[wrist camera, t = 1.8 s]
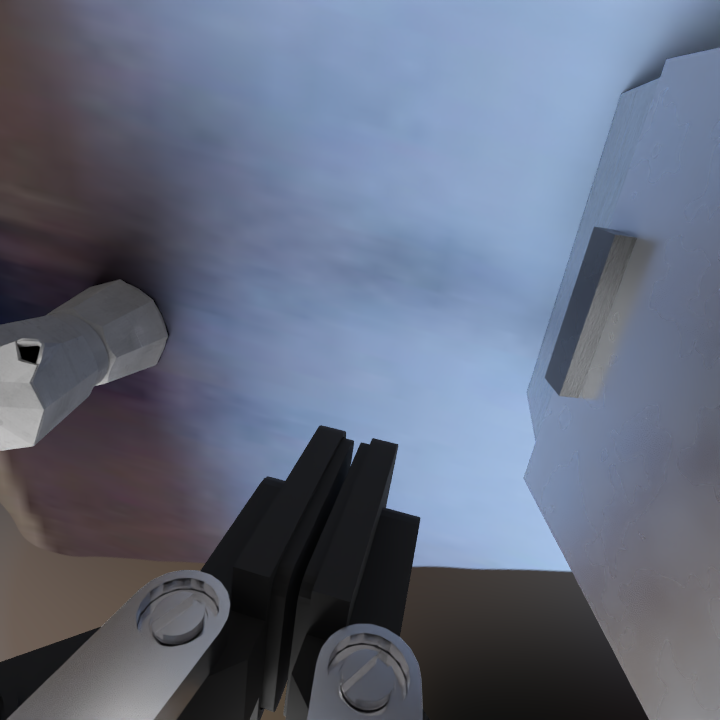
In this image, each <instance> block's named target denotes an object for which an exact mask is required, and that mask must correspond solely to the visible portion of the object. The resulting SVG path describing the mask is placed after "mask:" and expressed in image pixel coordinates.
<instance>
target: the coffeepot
mask: <svg viewBox="0 0 720 720" xmlns="http://www.w3.org/2000/svg"><path fill="white" fill-rule="evenodd" d="M167 338H168V334H167V330H166V326H165V323H164V320H163V317H162V315H161V313H160V311H159V309H158V308H157V306H156V305H155V303H154V301H153V299H151V298H150V297H149V296H148V295H146V294H145V293H144V292H142V291H141V290H140V289H138V288H136V287H134V286H132V285H130V284H127V283H125V282H124V281H122V280H121V279H119V280H116V281H112V282H108V283H104V284H100V285H96V286H92V287H89V288H88V289H86V290H85V291H83V292H82V293H80V294H78V295H77V296H75V297H74V298H72V299H71V300H69V301H67V302H66V303H64V304H63V305H61V306H60V307H58V308H56V309H55V310H53V311H52V312H50V313H49V314H47V316H43V317H38V318H33V319H28V320H23V321H18V322H13V323H8V324H3V325H0V451H2V450H10V449H17V448H24V447H31V446H34V445H35V444H36V443H38V442H39V441H40V440H41V439H42V438H43V437H44V436H45V435H46V434H47V433H49V432H50V431H51V430H52V429H53V428H54V427H55V426H56V425H57V424H59V423H60V422H61V421H62V420H63V419H64V418H65V417H66V416H67V415H68V414H70V413H71V412H72V411H73V410H74V409H75V408H76V407H77V406H78V405H80V404H81V403H82V402H83V401H84V400H85V399H86V398H87V397H88V396H90V393H91V391H92V389H93V387H94V386H96V385H101V384H104V383H108V382H111V381H113V380H116V379H119V378H122V377H124V376H127V375H130V374H132V373H135V372H138V371H141V370H143V369H146V368H149V367H152V366H154V365H157V363H158V360H159V358H160V356H161V354H162V352H163V350H164V348H165V344H166V340H167Z"/></svg>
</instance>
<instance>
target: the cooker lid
mask: <svg viewBox="0 0 720 720" xmlns="http://www.w3.org/2000/svg"><path fill="white" fill-rule="evenodd" d="M544 378H545V379H546V380H547V382H548V383H549V384H550V385H551V387H552V388H553V389H554V390H553V393H552V396H551V399H550V402H549V405H548V408H547V411H546V414H545V417H544V420H543V423H542V426H541V429H540V432H539V434H538V437H537V440H536V443H535V446H534V449H533V452H532V455H531V458H530V461H529V464H528V467H527V470H526V473H525V476H524V480H525V482H526V484H527V486H528V488H529V490H530V492H531V494H532V496H533V497H534V499H535V501H536V503H537V505H538V507H539V509H540V511H541V513H542V515H543V517H544V519H545V520H546V522H547V524H548V526H549V528H550V530H551V532H552V534H553V536H554V538H555V540H556V542H557V543H558V545H559V547H560V549H561V551H562V553H563V555H564V557H565V559H566V561H567V563H568V565H569V566H570V568H571V570H572V572H573V574H574V576H575V578H576V580H577V582H578V584H579V586H580V588H581V590H582V591H583V593H584V595H585V597H586V599H587V601H588V603H589V605H590V607H591V609H592V610H593V613H594V614H595V616H596V618H597V620H598V622H599V624H600V626H601V628H602V630H603V632H604V634H605V635H606V637H607V639H608V641H609V643H610V645H611V647H612V649H613V651H614V653H615V655H616V656H617V659H618V660H619V662H620V664H621V666H622V668H623V670H624V672H625V674H626V676H627V678H628V680H629V681H630V683H631V685H632V687H633V689H634V691H635V693H636V695H637V697H638V699H639V701H640V703H641V704H642V706H643V708H644V710H645V712H646V714H647V716H648V718H649V720H720V47H719V48H715V49H710V50H706V51H701V52H696V53H692V54H687V55H683V56H678V57H674V58H669V59H666V62H665V64H664V67H663V70H662V73H661V76H660V79H659V82H658V85H657V88H656V91H655V94H654V97H653V100H652V103H651V106H650V109H649V111H648V114H647V117H646V120H645V123H644V126H643V129H642V132H641V135H640V138H639V141H638V144H637V147H636V150H635V153H634V155H633V158H632V161H631V164H630V167H629V170H628V173H627V176H626V179H625V182H624V185H623V188H622V191H621V194H620V197H619V200H618V202H617V205H616V208H615V211H614V214H613V217H612V220H611V223H610V226H609V229H608V228H601V227H594V228H593V231H592V234H591V237H590V240H589V243H588V246H587V249H586V252H585V256H584V259H583V262H582V265H581V268H580V271H579V274H578V277H577V280H576V283H575V286H574V289H573V292H572V295H571V298H570V301H569V304H568V307H567V310H566V313H565V316H564V320H563V323H562V326H561V329H560V332H559V335H558V338H557V341H556V344H555V347H554V350H553V353H552V356H551V359H550V362H549V365H548V368H547V371H546V374H545V377H544Z"/></svg>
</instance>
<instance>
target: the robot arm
mask: <svg viewBox="0 0 720 720" xmlns="http://www.w3.org/2000/svg"><path fill="white" fill-rule="evenodd" d="M353 446H354V441H353V440H349V439H346V432H345V431H342V430H338V429H334V428H330V427H326V426H322V425H321V426H319V427H318V429H317V430H316V432H315V434H314V435H313V437H312V439H311V440H310V442H309V444H308V445H307V447H306V448H305V450H304V452H303V453H302V455H301V457H300V458H299V460H298V461H297V463H296V465H295V466H294V468H293V470H292V471H291V473H290V475H289V476H288V478H287V479H286V481H283V480H279V479H276V478H272V477H266V478H264V480H263V481H262V482H261V483H260V485H259V486H258V488H257V489H256V491H255V492H254V493H253V495H252V496H251V498H250V499H249V501H248V502H247V504H246V505H245V507H244V508H243V510H242V511H241V512H240V514H239V515H238V517H237V518H236V520H235V521H234V523H233V524H232V526H231V527H230V528H229V530H228V531H227V533H226V534H225V536H224V537H223V539H222V540H221V542H220V543H219V545H218V546H217V547H216V549H215V550H214V552H213V553H212V555H211V556H210V558H209V559H208V561H207V562H206V563H205V565H204V566H203V568H202V570H201V571H197V570H181V571H175V572H171V573H167V574H164V575H162V576H160V577H158V578H155V579H153V580H152V581H150V582H149V583H147V584H146V585H145V586H144V587H142V588H141V589H140V590H139V591H137V592H136V593H135V594H134V595H133V596H132V597H131V599H129V600H128V601H127V602H126V603H125V604H124V605H123V606H122V607H121V608H120V609H119V610H118V611H117V612H116V613H115V614H114V615H113V616H112V617H111V618H110V619H109V620H108V621H107V622H106V623H105V624H104V625H103V626H102V627H99V628H96V629H93V630H91V631H88V632H85V633H82V634H79V635H76V636H73V637H71V638H68V639H65V640H62V641H59V642H56V643H54V644H51V645H48V646H45V647H42V648H39V649H36V650H34V651H31V652H28V653H25V654H22V655H19V656H16V657H14V658H11V659H8V660H5V661H2V662H0V720H260V719H261V716H262V714H263V711H264V709H267V710H270V711H273V712H275V710H276V708H277V706H278V703H279V701H280V699H281V696H282V693H283V691H284V688H285V685H286V682H287V680H288V682H287V690H286V698H285V706H284V716H286V720H430V719H429V718H428V716H427V715H426V713H425V712H424V710H423V709H422V684H421V683H422V682H421V675H420V670H419V664H418V662H417V660H416V658H415V656H414V654H413V652H412V650H411V649H410V648H409V647H408V646H407V644H406V643H405V642H404V641H403V640H402V639H401V638H400V632H401V627H402V621H403V615H404V609H405V604H406V598H407V592H408V586H409V581H410V575H411V569H412V564H413V558H414V552H415V547H416V541H417V535H418V529H419V524H420V517H417V516H413V515H409V514H406V513H402V512H398V511H395V510H391V509H387V508H386V504H387V499H388V494H389V489H390V484H391V479H392V474H393V469H394V464H395V459H396V454H397V449H398V444H394V443H390V442H386V441H382V440H378V439H374V438H373V439H372V441H371V443H370V445H369V444H365V443H361V444H360V446H359V448H358V450H357V453H356V455H355V457H354V460H353V462H352V464H351V459H352V453H353ZM350 465H351V467H350Z"/></svg>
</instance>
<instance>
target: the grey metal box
mask: <svg viewBox="0 0 720 720" xmlns="http://www.w3.org/2000/svg"><path fill="white" fill-rule="evenodd" d="M659 79H660V78H658V79H655V80H653V81H650V82H648V83H646V84H643V85H641V86H639V87H636V88H634V89H631V90H629V91H627V92H624V93H622V94H621V96H620V99H619V102H618V106H617V109H616V112H615V115H614V118H613V121H612V125H611V128H610V131H609V134H608V137H607V140H606V144H605V147H604V150H603V153H602V156H601V159H600V163H599V166H598V169H597V172H596V175H595V178H594V182H593V185H592V188H591V191H590V194H589V197H588V201H587V204H586V207H585V210H584V213H583V216H582V220H581V223H580V226H579V229H578V232H577V235H576V239H575V242H574V245H573V248H572V251H571V254H570V258H569V261H568V264H567V267H566V270H565V273H564V277H563V280H562V283H561V286H560V289H559V292H558V296H557V299H556V302H555V305H554V308H553V311H552V315H551V318H550V321H549V324H548V327H547V330H546V334H545V337H544V340H543V343H542V346H541V349H540V353H539V356H538V359H537V362H536V365H535V368H534V372H533V375H532V378H531V381H530V384H529V387H528V391H527V396H528V402H529V407H530V413H531V419H532V424H533V430H534V435H535V441H536V440H537V437H538V434H539V432H540V429H541V426H542V423H543V420H544V417H545V414H546V411H547V408H548V405H549V402H550V399H551V396H552V393H553V390H554V389H553V388H552V387H551V385H550V384H549V383H548V382H547V380H546V379H545V378H544V377H545V374H546V371H547V368H548V365H549V362H550V359H551V356H552V353H553V350H554V347H555V344H556V341H557V338H558V335H559V332H560V329H561V326H562V323H563V320H564V316H565V313H566V310H567V307H568V304H569V301H570V298H571V295H572V292H573V289H574V286H575V283H576V280H577V277H578V274H579V271H580V268H581V265H582V262H583V259H584V256H585V252H586V249H587V246H588V243H589V240H590V237H591V234H592V231H593V228H594V227H601V228H608V229H609V226H610V223H611V220H612V217H613V214H614V211H615V208H616V205H617V202H618V200H619V197H620V194H621V191H622V188H623V185H624V182H625V179H626V176H627V173H628V170H629V167H630V164H631V161H632V158H633V155H634V153H635V150H636V147H637V144H638V141H639V138H640V135H641V132H642V129H643V126H644V123H645V120H646V117H647V114H648V111H649V109H650V106H651V103H652V100H653V97H654V94H655V91H656V88H657V85H658V82H659Z"/></svg>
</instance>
